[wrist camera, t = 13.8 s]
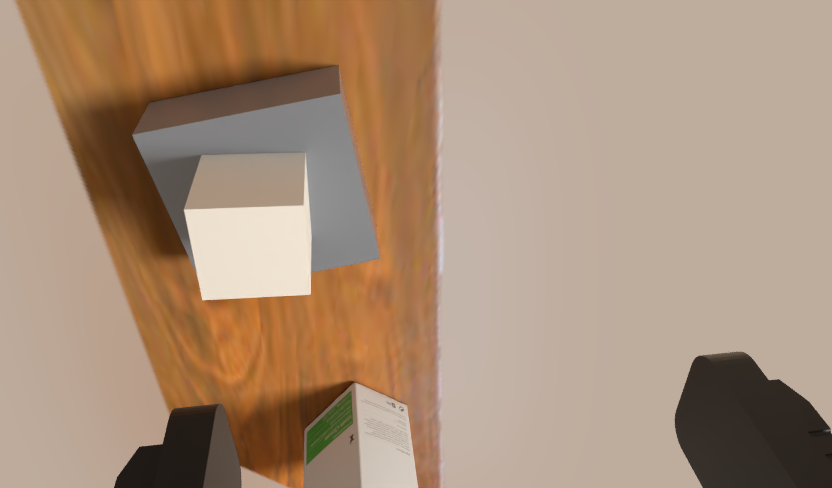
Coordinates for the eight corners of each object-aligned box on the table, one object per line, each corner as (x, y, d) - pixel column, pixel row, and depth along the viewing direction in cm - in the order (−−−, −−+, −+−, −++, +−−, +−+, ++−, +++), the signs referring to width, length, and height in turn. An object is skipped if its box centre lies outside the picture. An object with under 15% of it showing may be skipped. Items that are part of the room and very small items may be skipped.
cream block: (201, 155, 37) (183, 209, 32) (305, 152, 38) (303, 205, 33) (216, 239, 41) (202, 300, 36) (311, 235, 41) (310, 294, 37)
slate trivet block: (150, 100, 40) (131, 134, 36) (338, 62, 40) (340, 93, 36) (215, 250, 47) (206, 293, 43) (375, 218, 47) (380, 258, 43)
